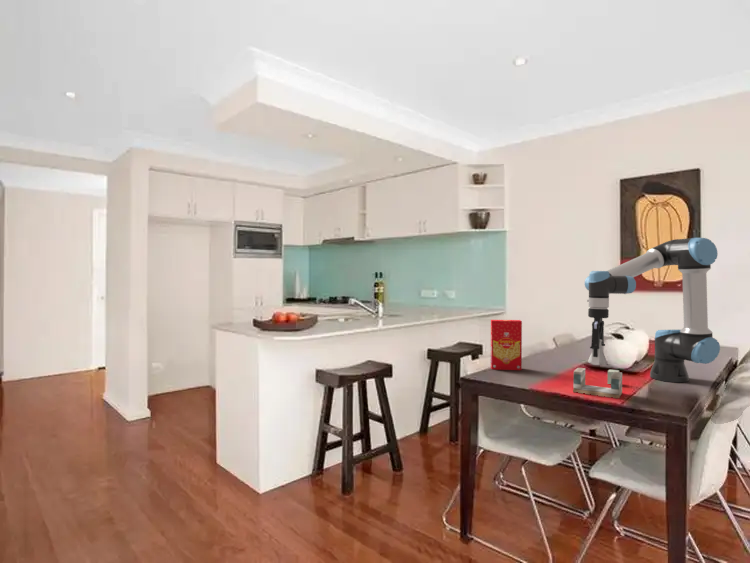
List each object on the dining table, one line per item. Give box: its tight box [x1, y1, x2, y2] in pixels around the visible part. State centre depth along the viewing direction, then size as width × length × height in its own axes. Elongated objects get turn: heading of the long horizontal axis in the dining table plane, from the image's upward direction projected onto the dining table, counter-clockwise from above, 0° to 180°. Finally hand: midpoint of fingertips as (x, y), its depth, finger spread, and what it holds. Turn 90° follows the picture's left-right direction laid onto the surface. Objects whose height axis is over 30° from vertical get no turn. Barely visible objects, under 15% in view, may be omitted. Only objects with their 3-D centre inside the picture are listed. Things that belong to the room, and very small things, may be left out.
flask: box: [587, 340, 608, 366], centre depth 188 cm, size 7×7×10 cm
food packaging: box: [490, 319, 523, 371], centre depth 233 cm, size 15×5×25 cm, turn 82°
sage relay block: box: [606, 369, 620, 384], centre depth 202 cm, size 4×5×6 cm
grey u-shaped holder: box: [572, 367, 623, 399], centre depth 188 cm, size 17×10×9 cm, turn 55°
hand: (597, 362), depth 188 cm, fingers closed on flask, 8 cm apart
